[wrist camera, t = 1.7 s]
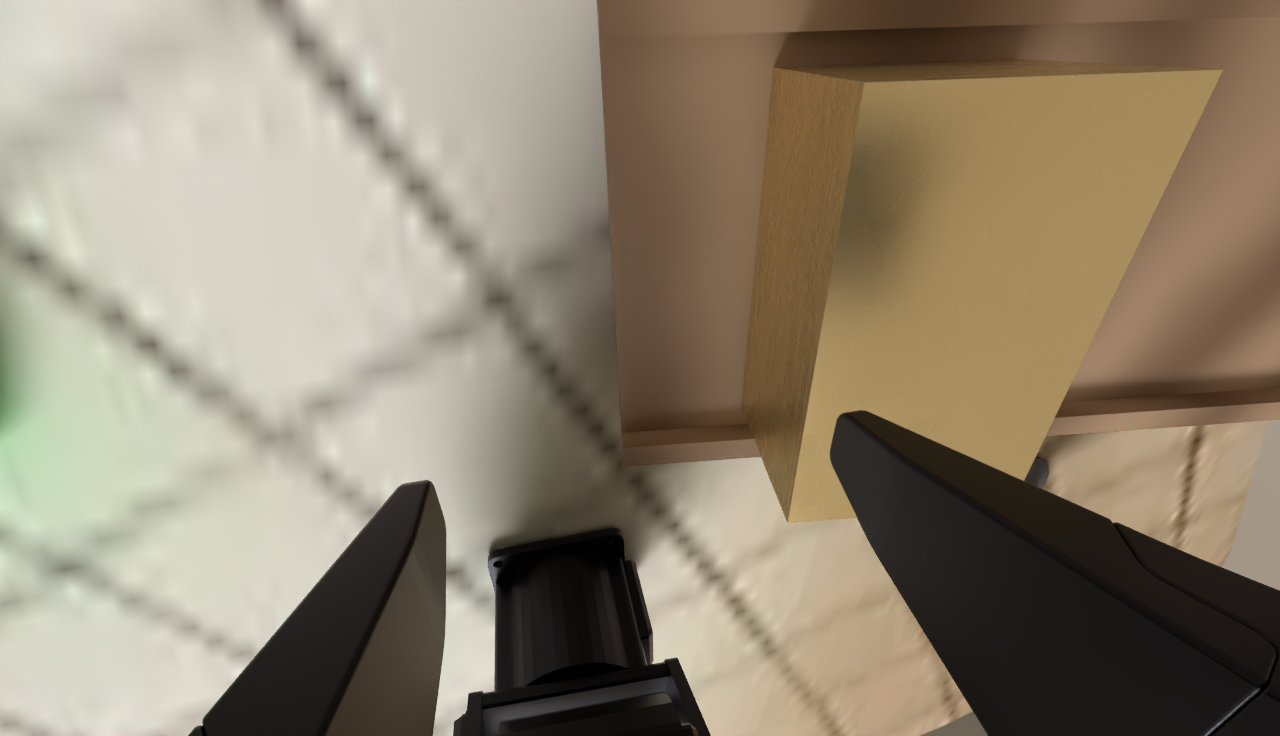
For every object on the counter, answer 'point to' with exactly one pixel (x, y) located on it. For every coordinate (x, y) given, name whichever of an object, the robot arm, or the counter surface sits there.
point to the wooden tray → (930, 32)
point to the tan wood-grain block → (945, 249)
